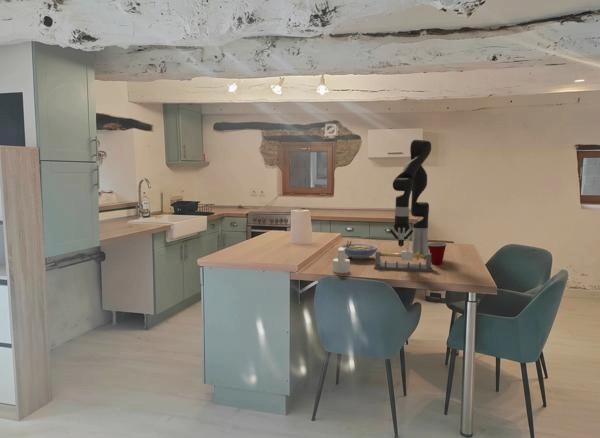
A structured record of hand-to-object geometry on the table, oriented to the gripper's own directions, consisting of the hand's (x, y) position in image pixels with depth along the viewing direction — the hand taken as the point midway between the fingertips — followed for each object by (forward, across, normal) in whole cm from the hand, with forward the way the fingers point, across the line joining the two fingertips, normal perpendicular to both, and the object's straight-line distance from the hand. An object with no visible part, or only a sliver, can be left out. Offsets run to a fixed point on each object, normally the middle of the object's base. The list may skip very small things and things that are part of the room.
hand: (400, 246), depth 244 cm
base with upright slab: (+12, -30, -15) cm, 36 cm away
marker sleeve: (+7, +3, 0) cm, 8 cm away
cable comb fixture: (+12, +1, 0) cm, 12 cm away
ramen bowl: (+12, -25, +20) cm, 34 cm away
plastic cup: (+12, +20, +15) cm, 28 cm away
